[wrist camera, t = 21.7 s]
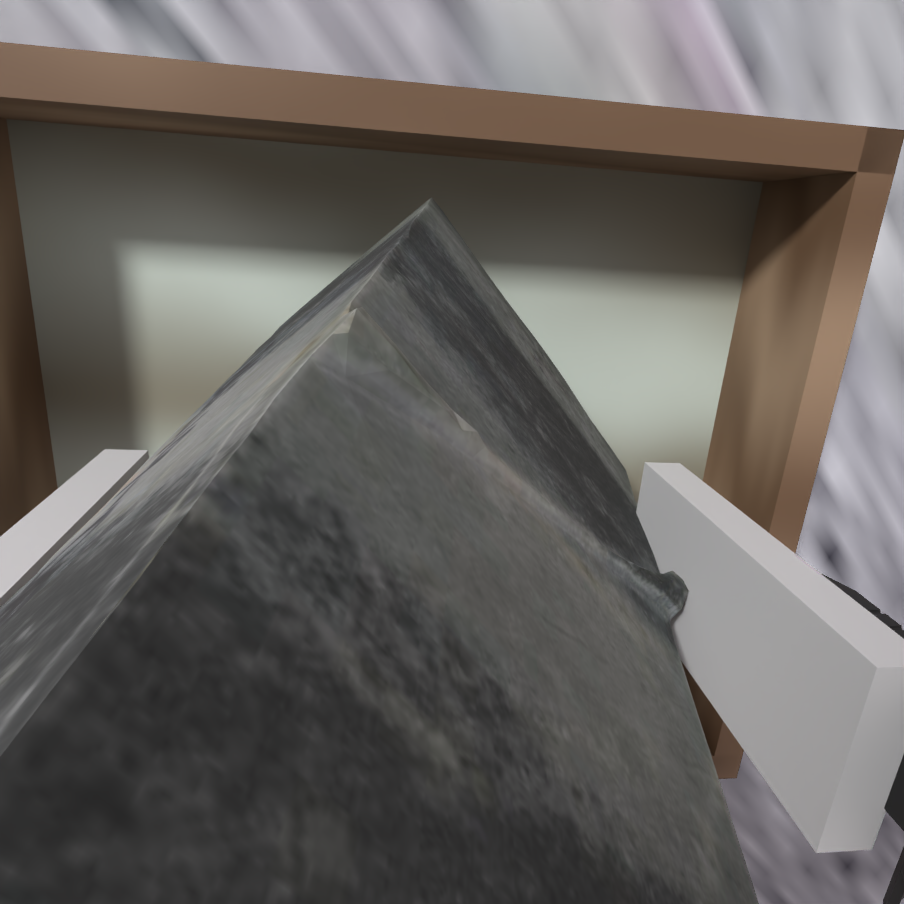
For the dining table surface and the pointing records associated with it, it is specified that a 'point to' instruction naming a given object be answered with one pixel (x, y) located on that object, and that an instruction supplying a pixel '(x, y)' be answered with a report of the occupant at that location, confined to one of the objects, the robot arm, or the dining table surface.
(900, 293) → the dining table surface
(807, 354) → the board
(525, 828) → the stone block
